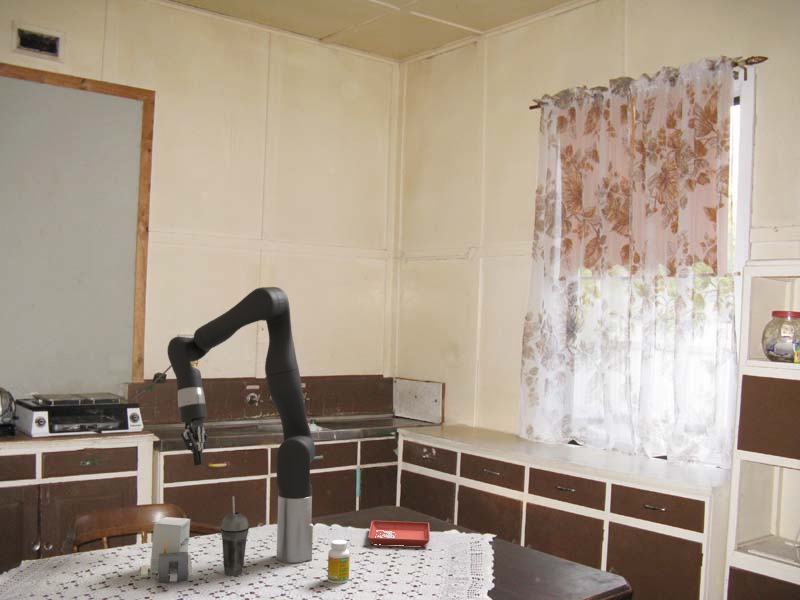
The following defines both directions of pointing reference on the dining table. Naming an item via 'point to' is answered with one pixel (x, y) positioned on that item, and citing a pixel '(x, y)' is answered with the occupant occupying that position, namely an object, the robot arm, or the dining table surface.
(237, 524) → the beverage cup
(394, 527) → the plant saucer
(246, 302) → the robot arm
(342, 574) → the supplement bottle
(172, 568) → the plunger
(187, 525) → the supplement box
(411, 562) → the dining table surface
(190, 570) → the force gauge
